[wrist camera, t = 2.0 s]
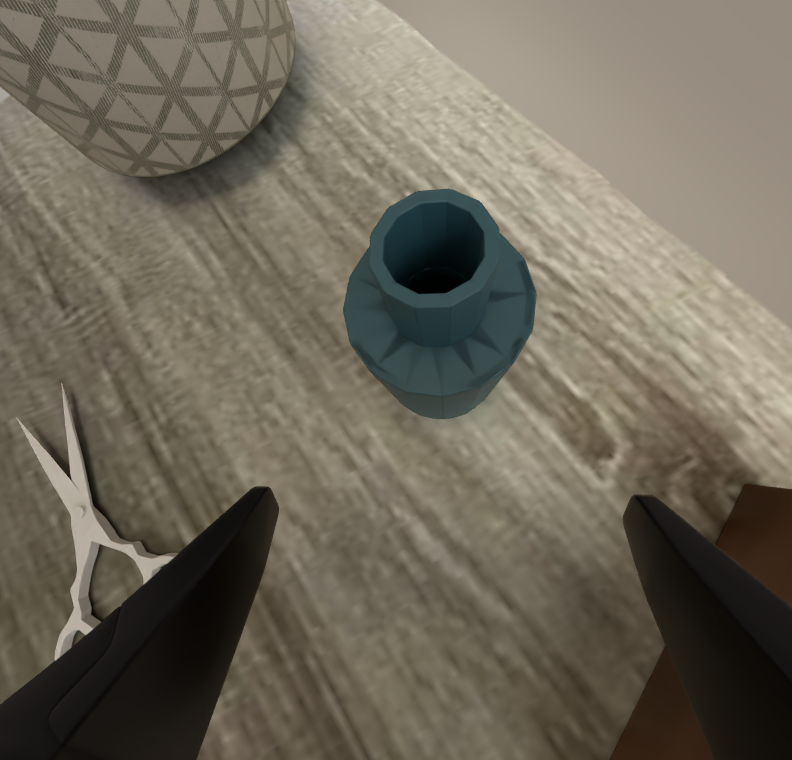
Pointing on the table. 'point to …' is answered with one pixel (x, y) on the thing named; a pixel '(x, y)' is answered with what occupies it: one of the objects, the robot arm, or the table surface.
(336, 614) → the table surface
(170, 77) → the planter
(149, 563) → the scissors
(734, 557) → the wall
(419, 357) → the teal faceted vase
